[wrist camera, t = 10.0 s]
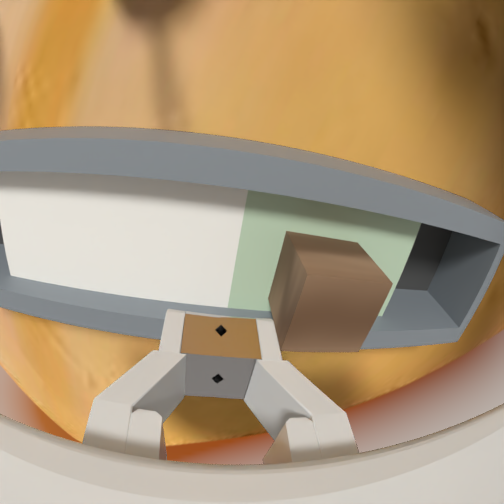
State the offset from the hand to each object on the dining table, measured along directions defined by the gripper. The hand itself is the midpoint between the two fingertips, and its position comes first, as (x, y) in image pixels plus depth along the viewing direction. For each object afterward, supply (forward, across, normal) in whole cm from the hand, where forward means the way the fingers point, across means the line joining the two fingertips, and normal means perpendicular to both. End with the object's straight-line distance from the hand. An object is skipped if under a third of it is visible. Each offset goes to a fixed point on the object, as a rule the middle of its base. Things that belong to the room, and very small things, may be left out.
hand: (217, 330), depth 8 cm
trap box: (+10, +1, +1) cm, 11 cm away
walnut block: (+6, -5, +1) cm, 8 cm away
